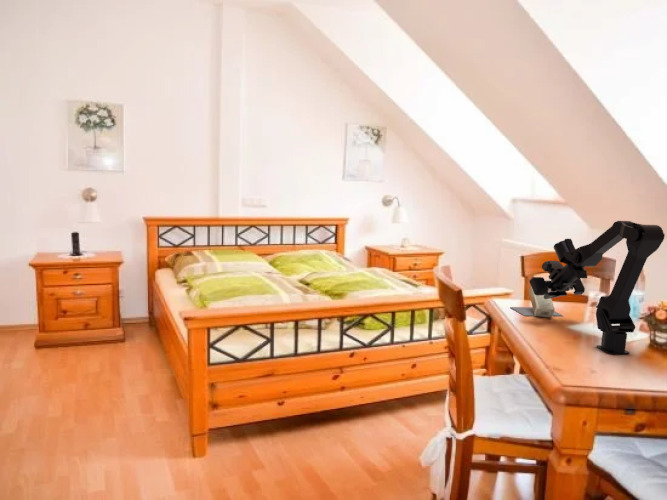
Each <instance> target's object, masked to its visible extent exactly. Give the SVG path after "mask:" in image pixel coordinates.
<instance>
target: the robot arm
mask: <svg viewBox="0 0 667 500" xmlns="http://www.w3.org/2000/svg"><path fill="white" fill-rule="evenodd" d="M624 239H625V240H626V241H625V245H626V248H627V254H626V256H625V259H624V261H623V263H622V265H621V268H620V270H619V272H618V276H617V278H616V280H615V282H614V285H613V288H612V290H611V292H610V294H609V295H602V296H600V298H599V300H598V303H597V305H596V306H595V308H596V311H595V317H596V325H597V329H598V330H600V332H602V334H601V343H600V345H599V344H598V345H596V348H598V349H600V350H601V351H603V352H605V353H606V354H609V355H630V352H629V351H628V350H626V346H627V345H626V344H627V339H628V337H627V336H628V334H627V333H632V334H633V333H634V331H635V329H636V325H635V323H634V321H633V318H632V317H631V310H632V309H631V304H630V299H631V296H632V294H633V291H634V289H635V287H636V285H637V282H638V280H639V278H640V277H641V273H642V271H643V269H644V267H645V264H646V262H647V259H648V258H649V257H650V256H651V255H652V254H654V253H655V252H657V250H659V248H660V246H661V244H662V243H663V242H664V240H665V233H664V230H663V228H662V227H661V226H660V225H658V224H643V223H637V222H633V221H631V220H617V221H614V222H613V223H612V225H611V226H610V227H609V228H608V229H606V230H605V231H604V232H602V233H601V234H600V235H599V236H598V237H596V238H595V239H593V240H592V242H590V243H588V244H585V245H582V246H579V247H577V248H576V247H575V245H574V243H573V240H572V238H565V239H564V240H561V241H559V242H557V243H556V242H555V243H554V245H553V249H554V252H555V254H556V256H557V259H558V260H547V261H544V262H543V263H542V264H541V269H542V270H543V271H544V272H545V273H546V272H547V273H548V274H549V275H548V279H549V280H545V278H544V277H543V276H533V277H531V278H530V280H529V281H528V282H529V284H530V286H531V287H532V289H533V292H534V294H535V295H544V299H550V298H551V299H554V298H560V297H566V296H567V295H568V293H567V292H569V291H573V290H574V291H573V294H574V295H575V296H577V295H578V296H582V294H584V293H585V291H586V287H585V286H584V284H583V281H582V279H587V278H588V273H587V270H586V268H594V267H596V266H598V264H599V263H600V262H601V261H602V260H603V257H604V254H605V253H607V252H608V251H609V250H611V249H612V248H613V247H614V246H616V245H617V244H618V243H620V242H621V241H622V240H624ZM563 264H565V265H563Z"/></svg>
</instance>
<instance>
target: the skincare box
mask: <svg viewBox="0 0 667 500" xmlns="http://www.w3.org/2000/svg"><path fill="white" fill-rule="evenodd" d="M528 296H529V299H530V303H531V306H532V307H533V311H534V314H535V316H534V317H537V318H553V317H554V316H553V314H554V311H555V310H556V309H555V306H554V302H553V300H552V299H553V298H550V299H544V295H535V294H534V292H533V289H532V287H531V285H530V286H529V290H528ZM555 312H556V311H555Z"/></svg>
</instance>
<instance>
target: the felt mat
mask: <svg viewBox="0 0 667 500" xmlns="http://www.w3.org/2000/svg"><path fill="white" fill-rule="evenodd" d="M509 308H510V309H511V310H513V311H514V312H516V313H518V314H520V315H522V317H536V316H535V314H534V311H533V307H531V306H528V307H527V306H526V307H525V306H511V307H509ZM552 317H564V315H563V314H562V313H559V312H557V311H554V314H553V316H552Z"/></svg>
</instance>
